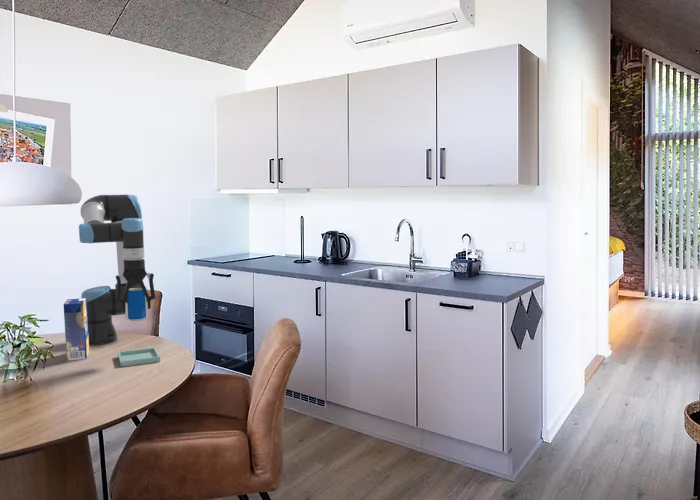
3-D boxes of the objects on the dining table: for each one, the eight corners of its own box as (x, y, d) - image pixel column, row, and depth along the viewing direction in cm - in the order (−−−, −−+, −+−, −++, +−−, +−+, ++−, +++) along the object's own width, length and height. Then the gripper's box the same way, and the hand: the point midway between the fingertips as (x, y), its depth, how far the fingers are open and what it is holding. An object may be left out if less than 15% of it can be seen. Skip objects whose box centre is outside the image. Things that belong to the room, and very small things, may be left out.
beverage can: (148, 317, 218) (147, 287, 217) (141, 321, 212) (139, 290, 210) (133, 317, 219) (131, 287, 217) (124, 321, 212) (123, 290, 211)
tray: (118, 356, 220) (117, 352, 220) (155, 352, 226) (155, 347, 226) (120, 367, 208) (120, 361, 207) (160, 361, 214) (160, 356, 214)
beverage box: (89, 351, 228) (86, 298, 226) (86, 358, 218) (83, 303, 216) (70, 352, 226) (67, 299, 224) (66, 360, 216) (63, 304, 213)
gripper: (106, 261, 205) (110, 323, 208) (162, 258, 214) (164, 317, 216) (105, 259, 212) (108, 319, 214) (159, 256, 220) (161, 313, 223)
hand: (136, 318), depth 215 cm, fingers closed on beverage can, 6 cm apart
